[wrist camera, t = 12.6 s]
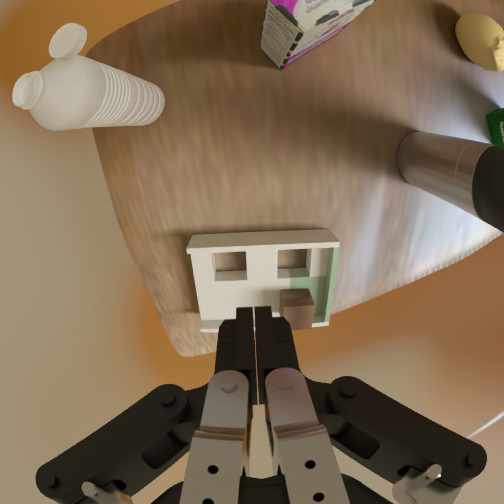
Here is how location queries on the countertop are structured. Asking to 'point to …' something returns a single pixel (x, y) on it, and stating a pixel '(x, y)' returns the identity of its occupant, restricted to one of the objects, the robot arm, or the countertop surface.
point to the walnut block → (297, 308)
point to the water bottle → (85, 90)
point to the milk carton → (497, 127)
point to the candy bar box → (304, 25)
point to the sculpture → (481, 40)
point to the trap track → (262, 273)
